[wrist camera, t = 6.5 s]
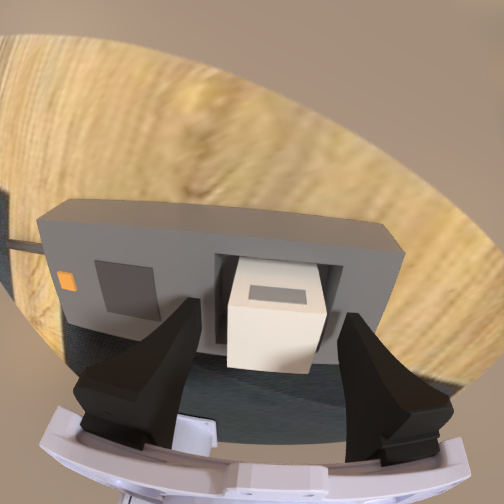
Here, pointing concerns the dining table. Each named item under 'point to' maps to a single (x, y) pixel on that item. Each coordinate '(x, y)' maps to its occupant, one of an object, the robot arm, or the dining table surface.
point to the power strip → (204, 264)
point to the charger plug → (274, 315)
